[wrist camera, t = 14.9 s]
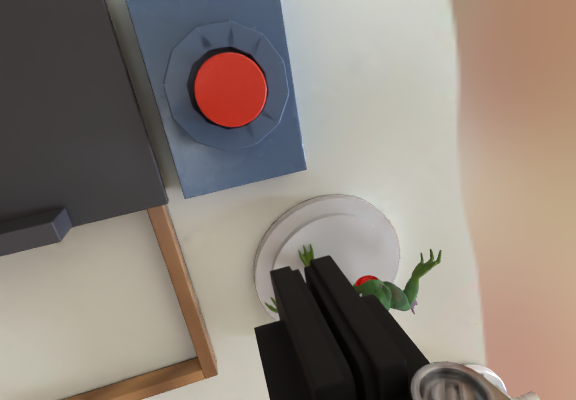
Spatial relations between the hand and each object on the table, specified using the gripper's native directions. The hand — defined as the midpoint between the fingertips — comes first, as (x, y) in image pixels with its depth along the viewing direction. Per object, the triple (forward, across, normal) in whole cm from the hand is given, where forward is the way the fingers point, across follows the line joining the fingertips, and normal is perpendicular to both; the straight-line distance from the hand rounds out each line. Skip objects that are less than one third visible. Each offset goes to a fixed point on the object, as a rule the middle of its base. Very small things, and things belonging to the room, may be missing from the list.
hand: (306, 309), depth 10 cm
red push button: (+13, 0, -5) cm, 14 cm away
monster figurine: (+17, -5, +10) cm, 20 cm away
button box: (+16, 0, -5) cm, 17 cm away
